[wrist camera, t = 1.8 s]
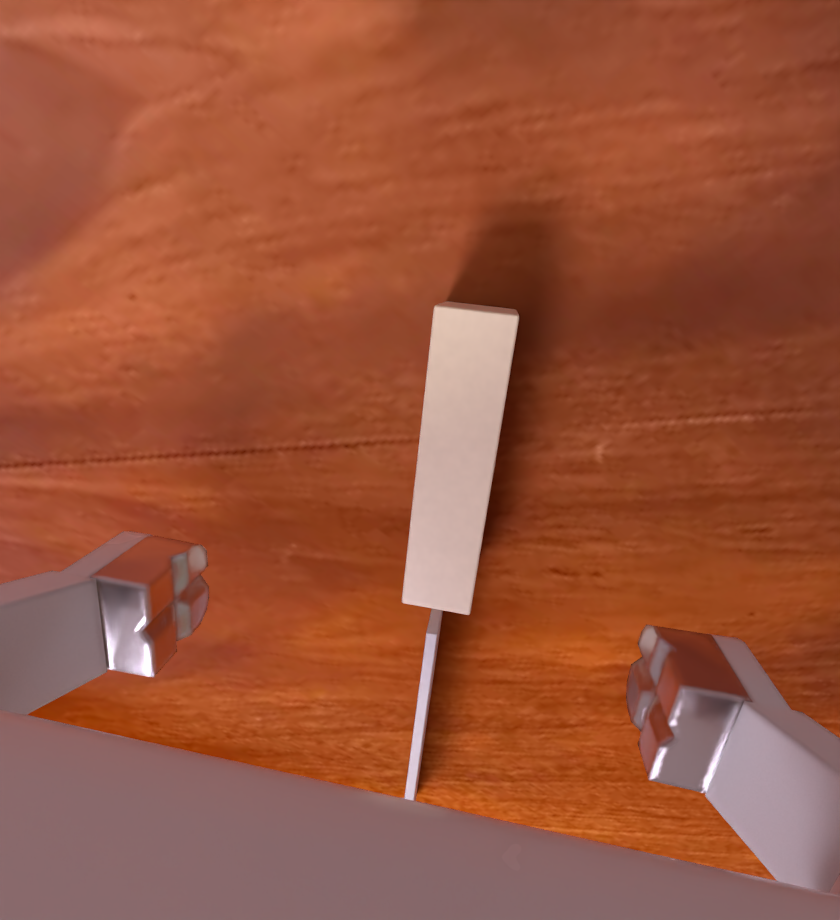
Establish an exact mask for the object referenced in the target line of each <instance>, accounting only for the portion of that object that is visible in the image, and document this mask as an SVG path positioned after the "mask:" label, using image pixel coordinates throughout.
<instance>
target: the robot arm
mask: <svg viewBox="0 0 840 920" xmlns="http://www.w3.org/2000/svg"><path fill="white" fill-rule="evenodd" d="M207 566H208V560H207V550H206V549H205V548H204V547H203V546H202V545H199V544H194V543H189V542H184V541H179V540H174V539H169V538H164V537H159V536H152V535H150V534H144V533H138V532H132V531H129V532H122V533H120V534H118V535H117V536H115V537H114V538H112V539H111V540H109V541H108V542H106V543H105V544H103V545H101V546H100V547H98V548H97V549H95V550H94V551H92V552H91V553H89V554H87V555H86V556H84V557H83V558H81V559H80V560H78V561H77V562H75V563H74V564H72V565H70V566H69V567H67V568H66V569H64V570H63V571H61V572H56V571H49V572H45V573H41V574H38V575H34V576H30V577H26V578H22V579H18V580H14V581H10V582H7V583H3V584H0V920H840V738H839V737H837V736H836V735H834V734H833V733H831V732H830V731H828V730H827V729H826V728H824V727H823V726H821V725H820V724H818V723H817V722H816V721H814V720H813V719H811V718H810V717H808V716H807V715H805V714H804V713H803V712H799V711H794V710H791V709H790V707H789V706H788V704H787V703H786V701H785V700H784V699H783V697H782V696H781V694H780V693H779V691H778V690H777V688H776V687H775V686H774V684H773V683H772V681H771V680H770V678H769V677H768V675H767V674H766V673H765V671H764V670H763V668H762V667H761V665H760V664H759V662H758V661H757V659H756V658H755V657H754V655H753V654H752V652H751V651H750V649H749V648H748V646H747V645H746V644H745V642H743V641H741V640H740V639H738V638H734V637H727V636H720V635H713V634H703V633H697V632H691V631H684V630H678V629H671V628H665V627H658V626H652V625H646V626H645V627H644V629H643V630H642V632H641V635H640V638H639V641H638V646H639V649H640V652H641V654H642V657H641V658H640V659H638V660H637V661H636V662H634V663H633V664H631V667H630V671H629V675H628V679H627V689H626V701H627V709H628V712H629V716H630V720H631V722H632V723H633V724H634V725H635V726H636V727H637V728H638V729H639V730H640V731H641V735H640V738H639V741H638V746H639V750H640V753H641V756H642V759H643V763H644V766H645V769H646V772H647V776H648V779H649V780H651V781H655V782H660V783H664V784H668V785H672V786H677V787H681V788H685V789H689V790H694V791H698V792H702V793H706V795H705V796H706V798H707V799H708V800H709V801H710V802H711V803H712V805H713V806H714V807H715V808H716V809H717V810H718V812H719V813H720V814H721V815H722V816H723V818H724V819H725V820H726V821H727V822H728V823H729V825H730V826H731V827H732V828H733V829H734V830H735V832H736V833H737V834H738V835H739V836H740V837H741V839H742V840H743V841H744V842H745V843H746V845H747V846H748V847H749V848H750V849H751V850H752V852H753V853H754V854H755V855H756V856H757V857H758V859H759V860H760V861H761V862H762V863H763V865H764V866H765V867H766V868H767V869H768V870H769V872H770V873H771V874H772V875H773V876H774V877H775V879H776V880H777V881H775V880H770V879H766V878H761V877H757V876H752V875H747V874H743V873H738V872H733V871H729V870H724V869H720V868H715V867H710V866H706V865H701V864H696V863H692V862H687V861H683V860H678V859H673V858H669V857H664V856H660V855H655V854H651V853H646V852H642V851H638V850H633V849H629V848H624V847H620V846H615V845H611V844H606V843H602V842H597V841H593V840H588V839H584V838H579V837H575V836H570V835H566V834H561V833H557V832H552V831H548V830H543V829H539V828H535V827H530V826H526V825H521V824H517V823H512V822H508V821H503V820H499V819H494V818H490V817H485V816H481V815H476V814H472V813H467V812H463V811H458V810H454V809H449V808H445V807H440V806H436V805H432V804H427V803H422V802H418V801H413V800H409V799H404V798H400V797H395V796H391V795H386V794H382V793H377V792H372V791H368V790H363V789H359V788H354V787H350V786H345V785H341V784H336V783H332V782H327V781H322V780H318V779H313V778H309V777H304V776H300V775H295V774H291V773H286V772H282V771H277V770H272V769H268V768H263V767H259V766H254V765H250V764H245V763H241V762H236V761H232V760H227V759H222V758H218V757H213V756H209V755H204V754H200V753H195V752H191V751H186V750H182V749H177V748H173V747H168V746H164V745H159V744H155V743H150V742H146V741H141V740H137V739H132V738H128V737H123V736H119V735H114V734H110V733H105V732H101V731H96V730H92V729H87V728H82V727H78V726H73V725H69V724H64V723H60V722H55V721H51V720H46V719H42V718H37V717H33V716H28V715H27V714H28V713H30V712H32V711H34V710H36V709H38V708H40V707H42V706H44V705H45V704H47V703H49V702H51V701H53V700H55V699H57V698H59V697H60V696H62V695H64V694H66V693H68V692H70V691H72V690H74V689H75V688H77V687H79V686H81V685H83V684H85V683H87V682H89V681H91V680H92V679H94V678H96V677H98V676H100V675H102V674H104V673H106V672H107V669H110V670H115V671H121V672H127V673H132V674H138V675H144V676H149V677H155V675H156V674H157V673H158V672H159V671H160V670H161V669H162V668H163V666H164V665H165V664H166V663H167V662H168V661H169V660H170V659H171V657H172V656H173V655H174V654H175V653H176V652H177V643H176V641H179V640H181V639H183V638H185V637H188V636H190V635H192V634H193V632H194V631H195V630H196V629H197V628H198V626H199V625H200V624H201V621H202V619H203V617H204V615H205V613H206V610H207V606H208V600H209V586H208V584H207V583H206V582H205V580H204V579H203V577H202V576H201V574H202V572H203V571H204V570H205V569H206V568H207Z"/></svg>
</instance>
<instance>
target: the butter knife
mask: <svg viewBox="0 0 840 920" xmlns="http://www.w3.org/2000/svg"><path fill="white" fill-rule="evenodd" d="M518 323H519V315H518V312H517V310H516V309H509V308H501V307H492V306H484V305H475V304H467V303H458V302H450V301H446V302H443V303H441V304H438V305H435V306H434V312H433V321H432V330H431V339H430V348H429V357H428V366H427V375H426V385H425V394H424V403H423V412H422V421H421V430H420V439H419V448H418V457H417V466H416V476H415V485H414V494H413V503H412V512H411V521H410V530H409V539H408V548H407V557H406V566H405V576H404V585H403V594H402V603H406V604H411V605H416V606H422V607H427V608H432V610H431V614H430V619H429V623H428V628H427V632H426V640H425V647H424V655H423V662H422V670H421V677H420V685H419V692H418V700H417V707H416V715H415V722H414V730H413V737H412V745H411V752H410V760H409V768H408V775H407V783H406V790H405V798H404V799H409V800H413V801H416V794H417V788H418V781H419V774H420V767H421V760H422V753H423V746H424V739H425V732H426V725H427V718H428V711H429V704H430V697H431V690H432V683H433V676H434V669H435V662H436V655H437V649H438V642H439V635H440V628H441V621H442V614H443V610H444V611H449V612H455V613H460V614H465V615H469V614H470V612H471V606H472V600H473V594H474V588H475V582H476V576H477V570H478V564H479V558H480V552H481V546H482V540H483V533H484V527H485V521H486V515H487V509H488V503H489V497H490V491H491V485H492V479H493V473H494V467H495V461H496V455H497V449H498V443H499V437H500V431H501V425H502V419H503V413H504V407H505V401H506V395H507V389H508V383H509V377H510V371H511V365H512V359H513V353H514V347H515V341H516V335H517V329H518Z"/></svg>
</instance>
